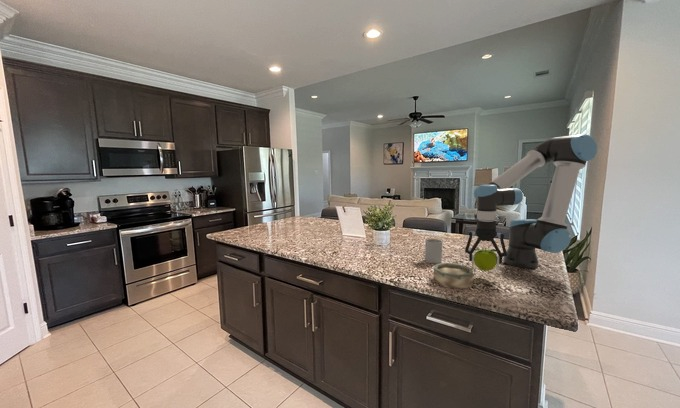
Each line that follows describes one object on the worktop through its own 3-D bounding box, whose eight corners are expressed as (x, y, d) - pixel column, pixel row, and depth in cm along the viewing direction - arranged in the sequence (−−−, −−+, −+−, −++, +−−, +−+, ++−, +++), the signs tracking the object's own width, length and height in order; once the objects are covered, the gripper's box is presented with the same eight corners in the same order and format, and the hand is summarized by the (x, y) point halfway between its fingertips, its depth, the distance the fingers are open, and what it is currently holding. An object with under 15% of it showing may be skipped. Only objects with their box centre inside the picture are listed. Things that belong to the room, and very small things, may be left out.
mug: (438, 264, 146) (439, 243, 144) (422, 261, 151) (423, 241, 149) (445, 258, 155) (446, 239, 154) (430, 256, 160) (431, 237, 159)
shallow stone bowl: (473, 277, 128) (473, 265, 127) (472, 291, 113) (473, 278, 113) (435, 272, 135) (436, 261, 134) (431, 284, 120) (431, 272, 120)
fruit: (496, 275, 121) (496, 252, 120) (472, 271, 126) (472, 249, 125) (497, 268, 129) (498, 246, 128) (475, 265, 134) (475, 244, 133)
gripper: (514, 219, 123) (512, 269, 126) (459, 217, 133) (458, 264, 136) (516, 222, 117) (514, 275, 119) (458, 220, 126) (458, 269, 129)
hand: (484, 269), depth 128 cm, fingers closed on fruit, 9 cm apart
